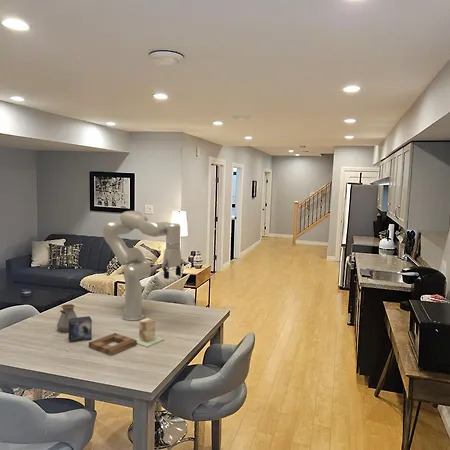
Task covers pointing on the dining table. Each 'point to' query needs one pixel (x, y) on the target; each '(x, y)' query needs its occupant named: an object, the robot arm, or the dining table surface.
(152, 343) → the pad
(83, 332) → the small box
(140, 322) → the beech block
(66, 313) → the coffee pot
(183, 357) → the dining table surface
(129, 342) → the cradle board
